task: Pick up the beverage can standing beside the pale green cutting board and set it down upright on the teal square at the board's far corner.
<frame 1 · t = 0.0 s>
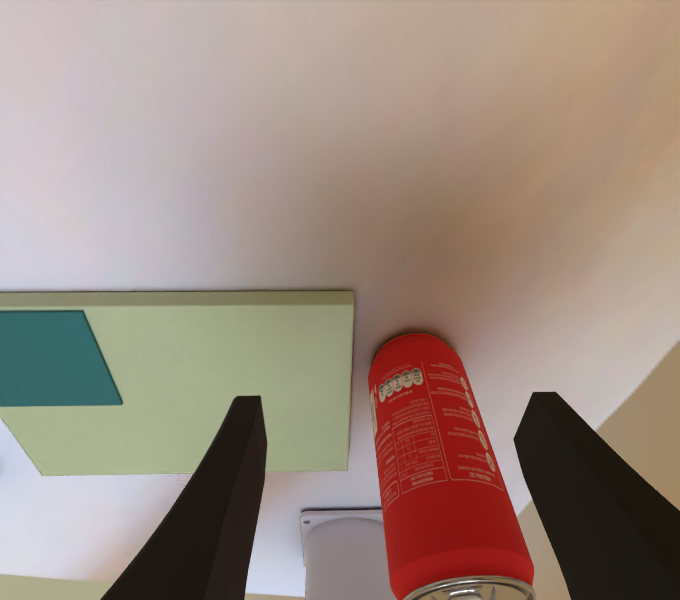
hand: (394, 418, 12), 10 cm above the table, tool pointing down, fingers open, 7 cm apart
board: (178, 388, 26), on the table
beverage can: (411, 359, 25), on the table
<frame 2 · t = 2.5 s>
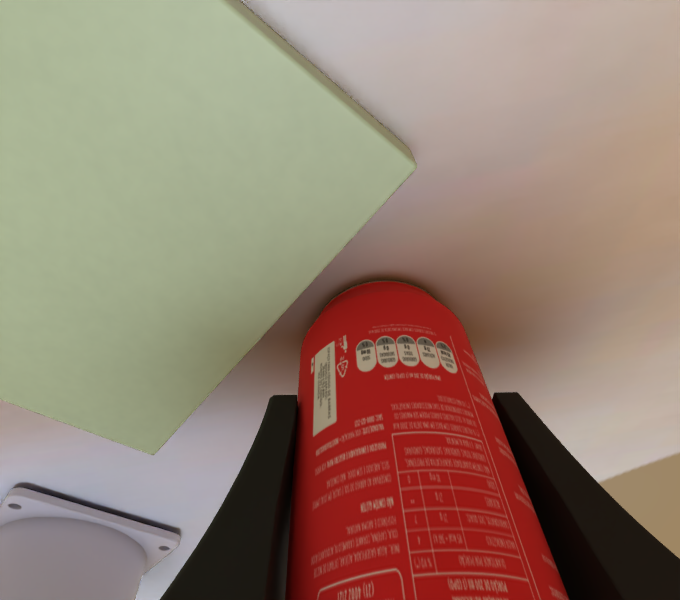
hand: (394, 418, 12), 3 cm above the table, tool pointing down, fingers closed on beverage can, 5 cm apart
beverage can: (379, 330, 15), on the table, touching gripper
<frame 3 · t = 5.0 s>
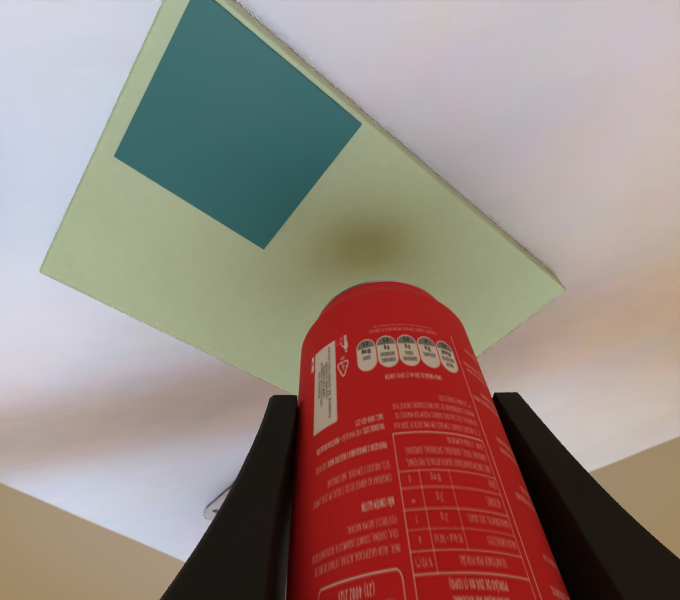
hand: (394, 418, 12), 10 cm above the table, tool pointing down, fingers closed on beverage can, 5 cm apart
board: (312, 267, 21), on the table
beverage can: (380, 330, 15), point 7 cm above the table, touching gripper
when the fingers open (5 cm above the table, at t = 7.8 s): beverage can stays where it is, resting on board.
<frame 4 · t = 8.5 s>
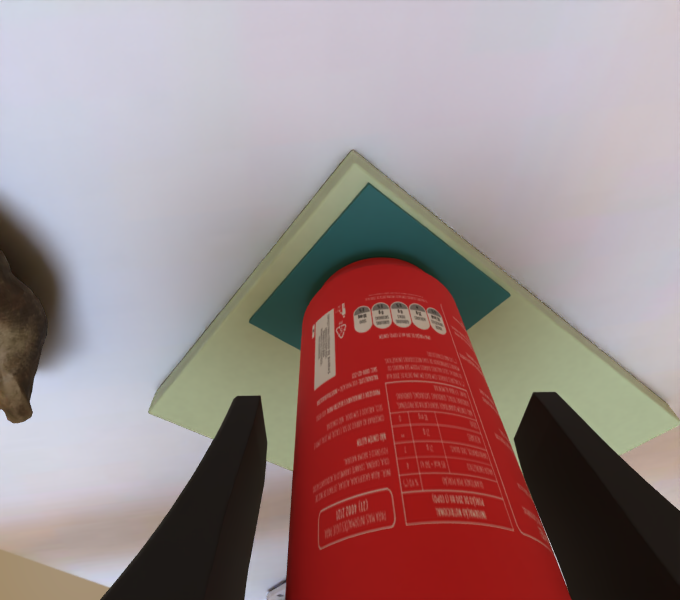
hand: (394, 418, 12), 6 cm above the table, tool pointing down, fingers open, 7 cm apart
board: (420, 398, 21), on the table
beverage can: (376, 305, 16), point 1 cm above the table, touching board
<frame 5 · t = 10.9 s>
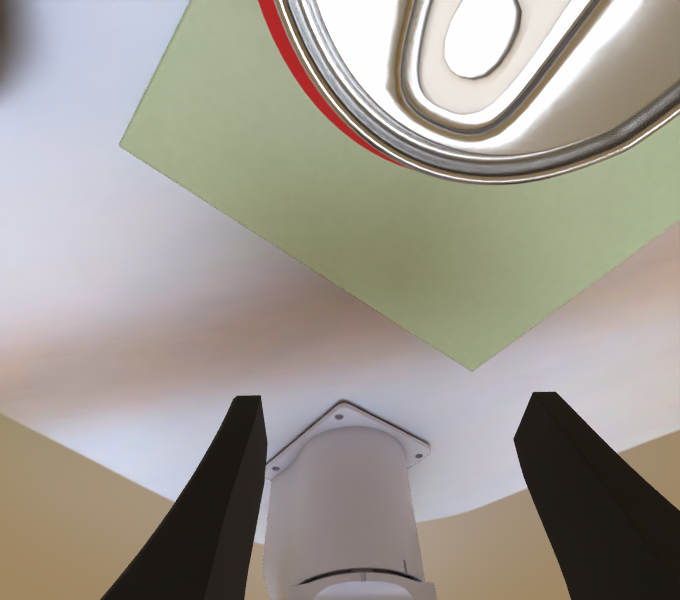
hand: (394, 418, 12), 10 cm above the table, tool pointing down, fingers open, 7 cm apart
board: (433, 153, 18), on the table
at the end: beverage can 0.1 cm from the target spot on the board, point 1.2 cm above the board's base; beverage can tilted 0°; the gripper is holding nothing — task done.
